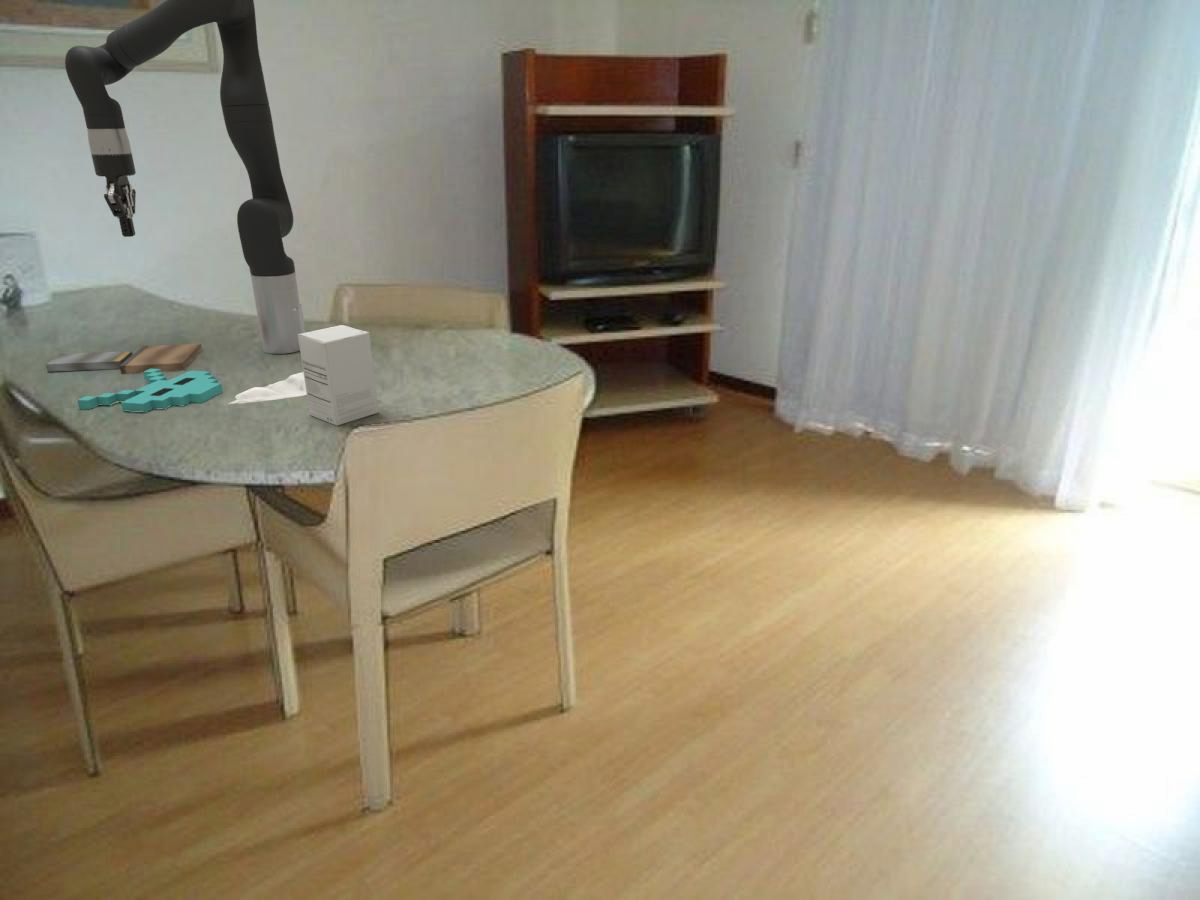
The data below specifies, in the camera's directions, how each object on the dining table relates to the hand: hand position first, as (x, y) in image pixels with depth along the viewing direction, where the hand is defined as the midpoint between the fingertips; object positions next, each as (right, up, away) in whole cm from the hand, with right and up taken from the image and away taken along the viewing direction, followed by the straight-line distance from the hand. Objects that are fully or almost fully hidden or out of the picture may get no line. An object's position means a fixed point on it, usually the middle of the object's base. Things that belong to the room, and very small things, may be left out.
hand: (129, 236), depth 180 cm
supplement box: (+57, -41, -33) cm, 77 cm away
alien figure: (+20, -37, -22) cm, 47 cm away
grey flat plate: (-5, -29, -5) cm, 30 cm away
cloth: (+42, -35, -18) cm, 58 cm away
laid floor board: (+9, -28, -2) cm, 29 cm away
